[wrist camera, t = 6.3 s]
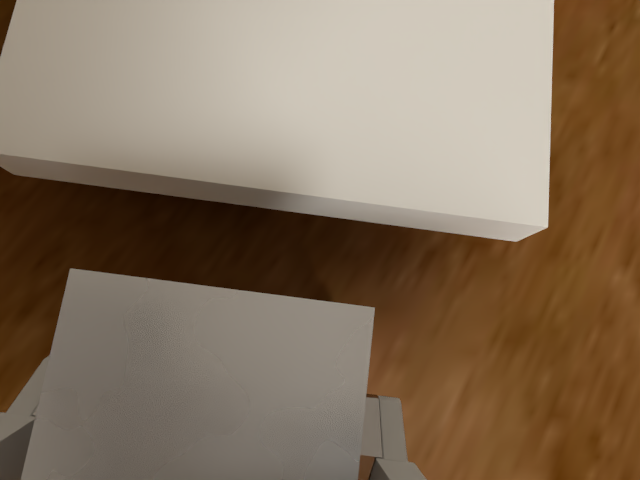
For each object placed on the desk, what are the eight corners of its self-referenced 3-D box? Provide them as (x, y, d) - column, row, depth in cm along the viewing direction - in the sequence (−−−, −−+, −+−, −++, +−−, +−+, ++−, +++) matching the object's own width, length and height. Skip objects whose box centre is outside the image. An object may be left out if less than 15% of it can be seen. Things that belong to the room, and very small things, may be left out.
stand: (45, 193, 17) (-27, 150, 13) (117, -89, 20) (73, -195, 16) (491, 252, 18) (547, 227, 14) (506, -32, 20) (557, -122, 16)
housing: (142, 479, 16) (-11, 617, 8) (175, 303, 17) (69, 268, 9) (317, 499, 16) (340, 655, 8) (337, 323, 17) (374, 307, 9)
